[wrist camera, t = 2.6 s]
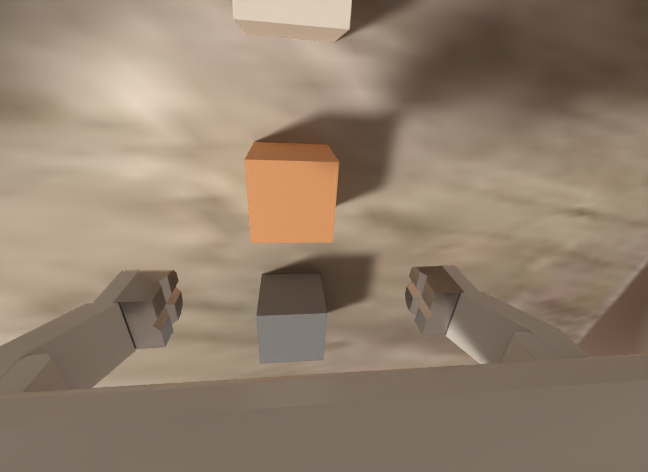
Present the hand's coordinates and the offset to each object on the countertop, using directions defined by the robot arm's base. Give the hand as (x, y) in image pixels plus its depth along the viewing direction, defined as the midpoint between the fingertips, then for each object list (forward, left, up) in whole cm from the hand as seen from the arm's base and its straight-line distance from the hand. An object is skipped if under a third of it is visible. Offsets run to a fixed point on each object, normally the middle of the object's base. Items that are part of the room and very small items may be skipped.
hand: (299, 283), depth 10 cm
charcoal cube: (+9, -6, -12) cm, 16 cm away
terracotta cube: (0, 0, -12) cm, 12 cm away
